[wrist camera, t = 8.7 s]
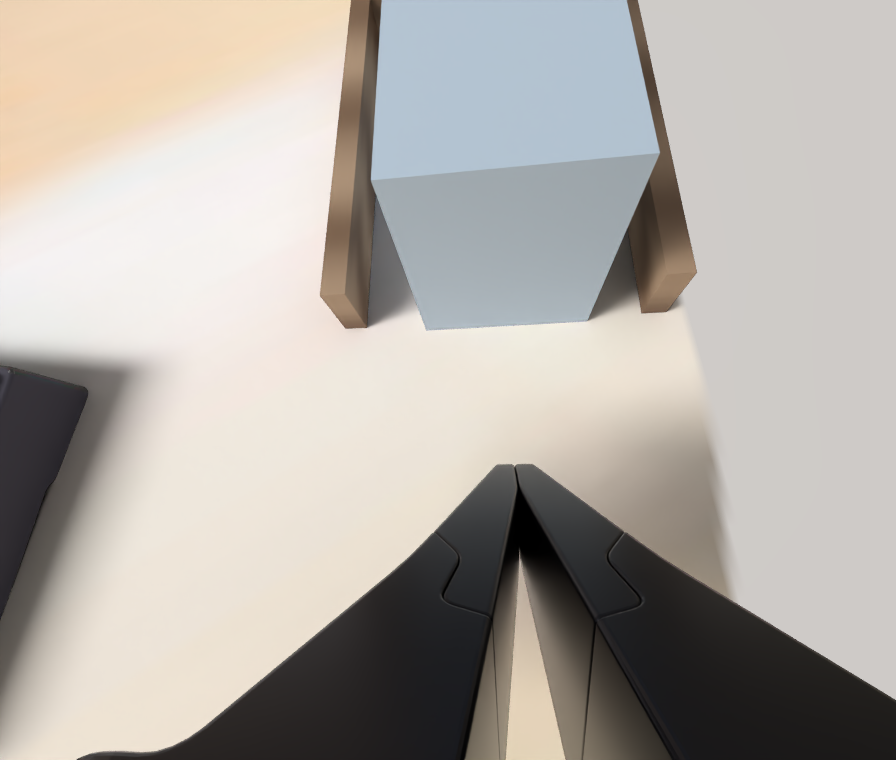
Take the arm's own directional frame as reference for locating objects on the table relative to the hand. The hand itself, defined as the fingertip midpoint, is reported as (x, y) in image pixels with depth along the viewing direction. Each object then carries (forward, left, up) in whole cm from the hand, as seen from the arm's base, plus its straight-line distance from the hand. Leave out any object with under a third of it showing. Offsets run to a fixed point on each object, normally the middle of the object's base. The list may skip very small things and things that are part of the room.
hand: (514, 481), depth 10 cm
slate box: (+10, -12, -7) cm, 17 cm away
